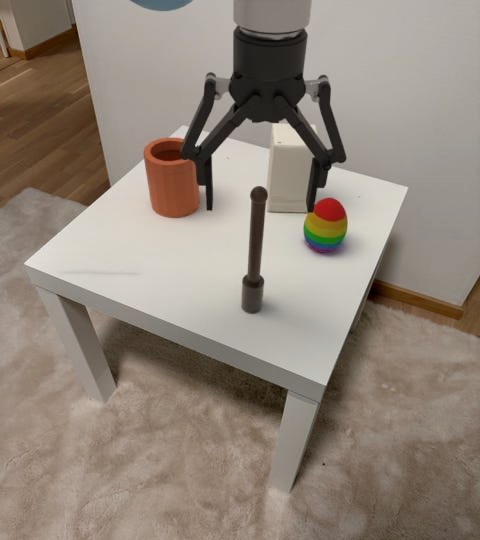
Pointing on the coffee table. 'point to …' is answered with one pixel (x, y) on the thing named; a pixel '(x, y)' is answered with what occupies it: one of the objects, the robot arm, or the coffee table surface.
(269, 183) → the rectangular carton
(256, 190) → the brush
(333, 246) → the decorative egg
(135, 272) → the coffee table surface
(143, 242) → the coffee table surface
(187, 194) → the jar
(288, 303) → the coffee table surface
